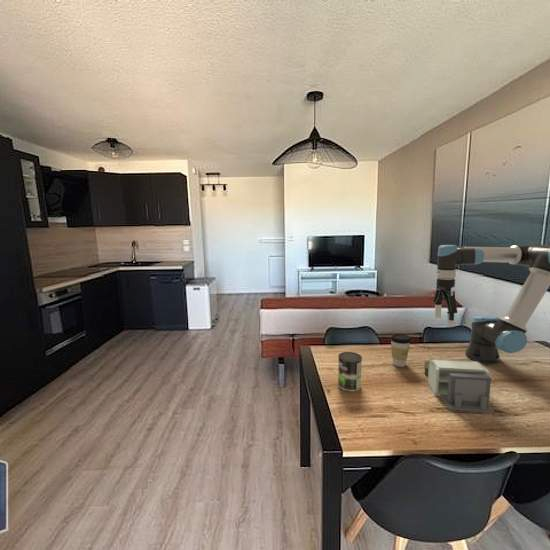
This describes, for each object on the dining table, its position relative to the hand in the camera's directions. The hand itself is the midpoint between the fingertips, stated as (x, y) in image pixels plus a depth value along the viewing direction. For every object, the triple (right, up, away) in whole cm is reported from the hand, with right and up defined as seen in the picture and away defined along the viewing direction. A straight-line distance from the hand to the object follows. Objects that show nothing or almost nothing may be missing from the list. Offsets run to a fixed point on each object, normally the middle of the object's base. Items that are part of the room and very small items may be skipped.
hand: (443, 321), depth 146 cm
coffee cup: (-16, -24, +13) cm, 32 cm away
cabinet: (-3, -29, -18) cm, 34 cm away
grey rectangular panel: (-4, -29, -24) cm, 38 cm away
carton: (0, -26, +1) cm, 26 cm away
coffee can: (-47, -28, -7) cm, 55 cm away
